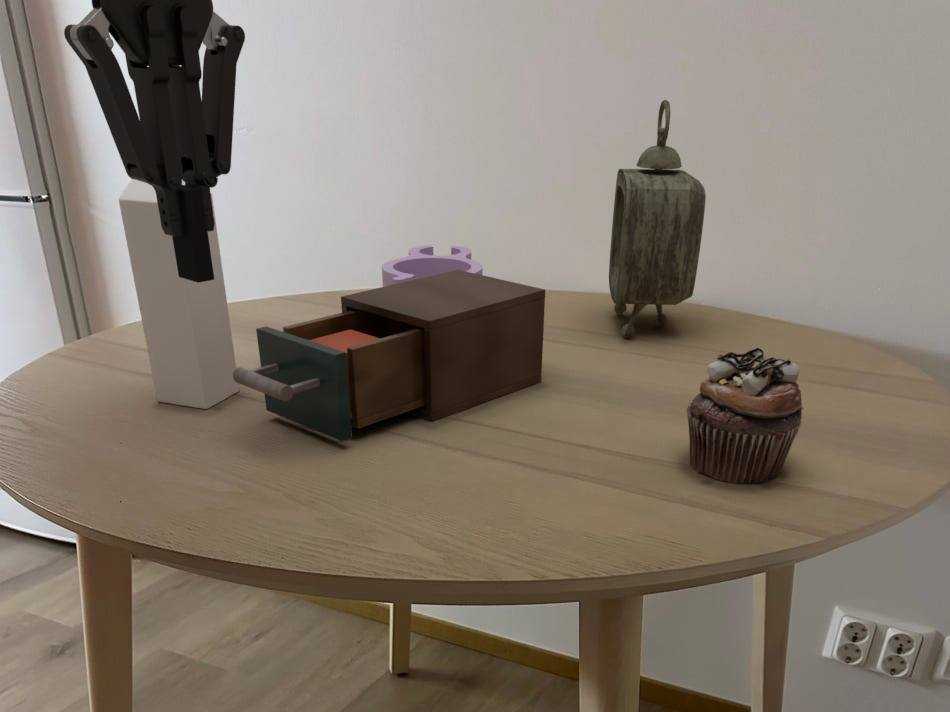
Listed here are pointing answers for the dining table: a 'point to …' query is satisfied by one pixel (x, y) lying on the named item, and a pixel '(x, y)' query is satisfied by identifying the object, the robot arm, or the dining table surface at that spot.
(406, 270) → the clip
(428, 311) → the cabinet
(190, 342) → the milk
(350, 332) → the block
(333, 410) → the drawer
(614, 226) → the tabletop clock
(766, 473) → the cupcake
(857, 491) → the dining table surface
